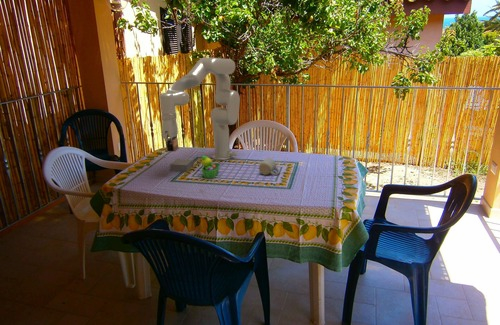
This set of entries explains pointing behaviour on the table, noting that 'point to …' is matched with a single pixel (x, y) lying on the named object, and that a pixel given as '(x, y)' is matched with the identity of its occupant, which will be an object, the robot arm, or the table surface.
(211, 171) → the green bird basket
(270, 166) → the ceramic mug
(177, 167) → the charcoal base
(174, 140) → the terracotta block
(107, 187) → the table surface
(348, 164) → the table surface
